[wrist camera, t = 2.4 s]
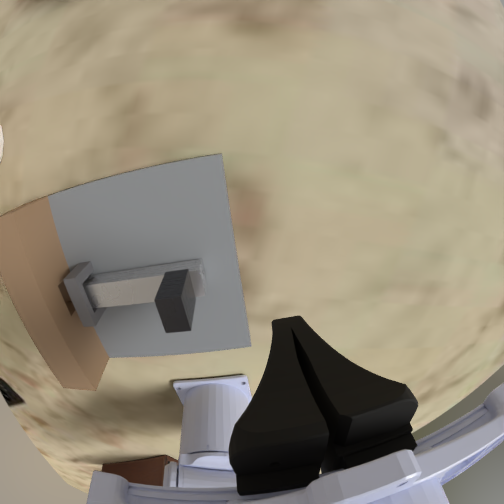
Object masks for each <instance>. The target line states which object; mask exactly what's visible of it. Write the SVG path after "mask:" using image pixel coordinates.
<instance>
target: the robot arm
mask: <svg viewBox="0 0 504 504" xmlns="http://www.w3.org/2000/svg"><path fill="white" fill-rule="evenodd" d="M272 331H273V335H272V343H271V350H270V354H269V358H268V362H267V365H266V368H265V371H264V374H263V377H262V379H261V381H260V384H259V386H258V388H257V390H256V392H255V394H254V396H253V398H252V397H251V392H250V387H249V383H248V378H247V376H246V375H237V376H229V377H219V378H209V379H197V380H182V381H174V382H173V387H174V389H175V391H176V393H177V395H178V397H179V399H180V401H181V403H182V404H183V406H184V408H183V419H182V429H181V441H180V454H179V459H178V465H177V462H173V461H171V462H170V464H167V465H166V466H165V469H164V480H163V486H154V485H144V484H137V483H130V482H128V481H127V480H126V479H125V478H123V477H121V476H119V475H116V474H111V473H105V472H101V471H96V470H95V471H93V475H92V480H91V484H90V489H89V494H88V499H87V504H449V502H448V499H447V497H446V495H445V493H444V490H443V488H442V485H443V484H445V483H447V482H448V481H450V480H451V479H453V478H454V477H456V476H457V475H459V474H460V473H462V472H463V471H464V470H466V469H468V468H469V467H470V466H472V465H473V464H475V463H476V462H477V461H479V460H480V459H481V458H482V457H484V456H485V455H486V454H488V453H489V452H490V451H491V450H493V449H494V448H495V447H496V446H498V445H499V444H500V443H501V442H502V441H503V440H504V383H502V384H501V385H499V386H498V387H497V388H495V389H494V390H493V391H492V392H490V394H489V395H488V396H487V397H486V399H485V401H484V403H482V404H481V405H480V406H478V407H476V408H475V409H473V410H472V411H470V412H469V413H467V414H465V415H464V416H462V417H460V418H459V419H457V420H455V421H454V422H452V423H450V424H448V425H447V426H445V427H443V428H441V429H439V430H437V431H435V432H433V433H431V434H429V435H428V436H425V437H423V438H422V439H419V440H417V441H415V440H414V438H413V436H412V434H411V432H412V430H413V429H412V426H411V425H410V421H411V419H412V417H413V416H414V414H415V412H416V410H417V407H418V401H417V400H416V398H415V396H414V395H413V393H412V392H411V391H410V389H409V388H408V387H407V386H406V384H402V383H399V382H396V381H392V380H389V379H386V378H384V377H381V376H379V375H376V374H374V373H372V372H370V371H368V370H366V369H364V368H362V367H360V366H358V365H356V364H355V363H353V362H351V361H350V360H348V359H347V358H345V357H344V356H342V355H341V354H340V353H338V352H337V351H336V350H335V349H333V348H332V347H331V346H330V345H328V344H327V343H326V342H325V341H324V340H323V339H322V338H321V337H320V336H319V335H318V334H317V333H316V332H315V331H314V330H313V329H312V328H311V327H310V326H309V325H308V324H307V323H306V322H305V320H304V319H303V318H302V317H301V316H294V317H288V318H282V319H276V320H273V321H272ZM178 387H179V388H178ZM320 468H321V472H322V474H319V472H320Z"/></svg>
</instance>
